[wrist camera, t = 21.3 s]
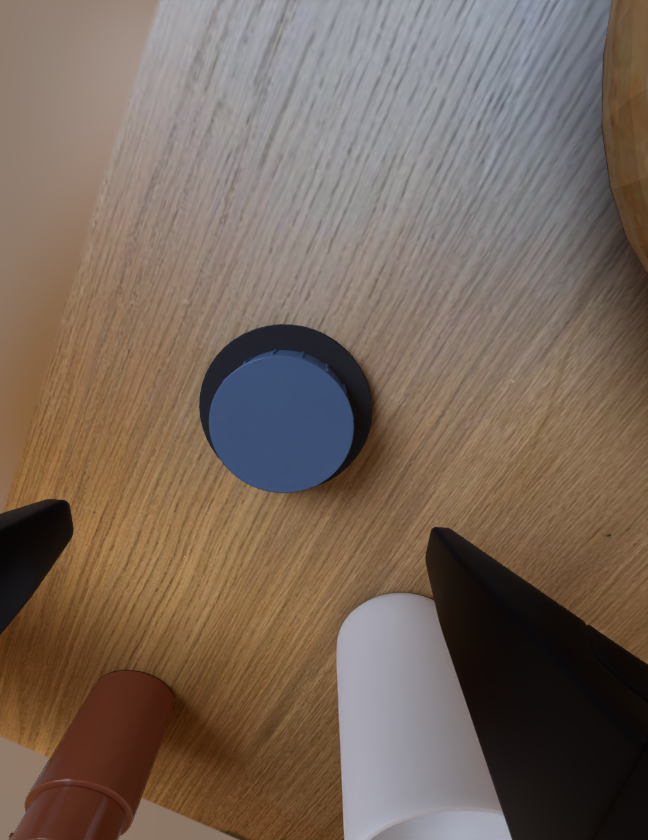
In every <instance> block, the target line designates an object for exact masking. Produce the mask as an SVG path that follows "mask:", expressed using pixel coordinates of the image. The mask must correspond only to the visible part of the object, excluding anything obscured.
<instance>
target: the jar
mask: <svg viewBox="0 0 648 840" xmlns="http://www.w3.org/2000/svg"><path fill="white" fill-rule="evenodd" d="M174 706H175V702H174V697H173V694H172V693H171V691H170V689H169V688H168V687H167V686H166V685H165V684H164V683H163V682H162V681H160V680H159V679H157V678H155V677H153V676H151V675H148V674H146V673H142V672H138V671H116V672H112V673H109V674H107V675H105V676H103V677H102V678H100V679H99V680H98V681H97V682H96V683H95V684H94V686H93V688H92V689H91V691H90V693H89V694H88V696H87V698H86V699H85V701H84V703H83V704H82V706H81V708H80V709H79V711H78V712H77V714H76V716H75V717H74V719H73V721H72V722H71V724H70V726H69V727H68V729H67V731H66V732H65V734H64V736H63V737H62V739H61V741H60V742H59V744H58V746H57V747H56V749H55V750H54V752H53V754H52V755H51V757H50V759H49V760H48V762H47V764H46V766H45V767H44V769H43V770H42V772H41V774H40V775H39V777H38V779H37V780H36V782H35V784H34V785H33V787H32V789H31V790H30V792H29V793H28V795H27V797H26V800H25V811H26V813H25V815H24V817H23V818H22V820H21V822H20V823H19V825H18V827H17V828H16V830H15V832H14V833H11V834H10V836H9V840H118V839H119V837H120V836H121V835H123V834H124V833H125V832H126V831H127V830H128V829H129V827H130V826H131V824H132V822H133V819H134V816H135V814H136V811H137V808H138V806H139V803H140V800H141V798H142V795H143V792H144V789H145V787H146V784H147V781H148V779H149V776H150V773H151V770H152V768H153V765H154V762H155V760H156V757H157V754H158V751H159V749H160V746H161V743H162V741H163V738H164V735H165V733H166V730H167V727H168V724H169V722H170V719H171V716H172V714H173V711H174Z"/></svg>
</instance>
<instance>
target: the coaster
mask: <svg viewBox="0 0 648 840" xmlns="http://www.w3.org/2000/svg"><path fill="white" fill-rule="evenodd" d="M275 349H278V350H291V351H297V352H301V353H302V351H304V353H305V354H308V355H310V356H313V357H315V358H317V359H318V360H320V361H322V362H323V363H324V364H328V366H329V368H330V369H331V370H332V371H333V372H334V373H335V374H336V375H337V376H338V378H339V379H340V381H341V382H342V384H345V387H346V390H347V396H348V399H349V402H350V406H351V408H352V411H353V414H354V418H355V419H353V420H354V435H353V440H352V444H351V447H350V450H349V453H348V455H347V457H346V459H345V460H344V462H343V463H342V465H341V466H340V467H339V468H338V470H337V471H336V472H335V473H334V474H333V475H331V476H330V477H329V478H328V479H326V480H325V481H323V482H322V483H320V484H323V483H325V482H327V481H329V480H331V479H332V478H334V477H335V476H337V475H339V474H340V473H341V472H342V471H344V470H345V469H346V468H347V467H348V466H349V465H350V464H351V463H352V462H353V461H354V460H355V458H356V457H357V455H358V454H359V453H360V451H361V449H362V447H363V445H364V443H365V442H366V439H367V436H368V433H369V430H370V425H371V418H372V402H371V395H370V391H369V387H368V384H367V381H366V378H365V376H364V374H363V372H362V371H361V369H360V367H359V365H358V364H357V363H356V361H355V360H354V358H353V357H352V356H351V355H350V354H349V353H348V351H347V350H346V349H345V348H344V347H342V346H341V345H340V344H339V343H337V342H336V341H335V340H333V339H332V338H330V337H328V336H327V335H325V334H323V333H321V332H318V331H316V330H313V329H310V328H307V327H303V326H297V325H283V324H279V325H271V326H265V327H261V328H258V329H254V330H252V331H250V332H247V333H245V334H243V335H241V336H239V337H238V338H236V339H234V340H233V341H232V342H230V343H229V344H228V345H227V346H225V347H224V348H223V349H222V351H221V352H220V353H219V354H218V355H217V356H216V357H215V359H214V360H213V362H212V363H211V365H210V367H209V368H208V370H207V372H206V374H205V377H204V380H203V383H202V387H201V392H200V404H199V408H200V418H201V422H202V427H203V430H204V433H205V435H206V438H207V440H208V442H209V444H210V446H211V448H212V449H213V451H214V452H215V453H216V451H215V449H214V446H213V443H212V440H211V436H210V431H209V413H210V408H211V404H212V401H213V398H214V396H215V394H216V392H217V390H218V388H219V387H220V385H221V384H222V383H223V382H222V381H223V380H224V379H225V378H227V377H228V376H229V375H230V374H231V373H232V372H234V371H235V370H236V369H237V368H239V367H240V366H242V365H243V362H244V361H246V360H247V359H249V358H250V357H252V358H254V357H256V356H258V355H261V354H263V353H267V352H271V351H274V350H275ZM216 455H217V456H218V454H217V453H216ZM218 457H219V456H218ZM219 459H220V458H219ZM220 460H221V459H220ZM320 484H318V485H320ZM316 486H317V485H316Z"/></svg>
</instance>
